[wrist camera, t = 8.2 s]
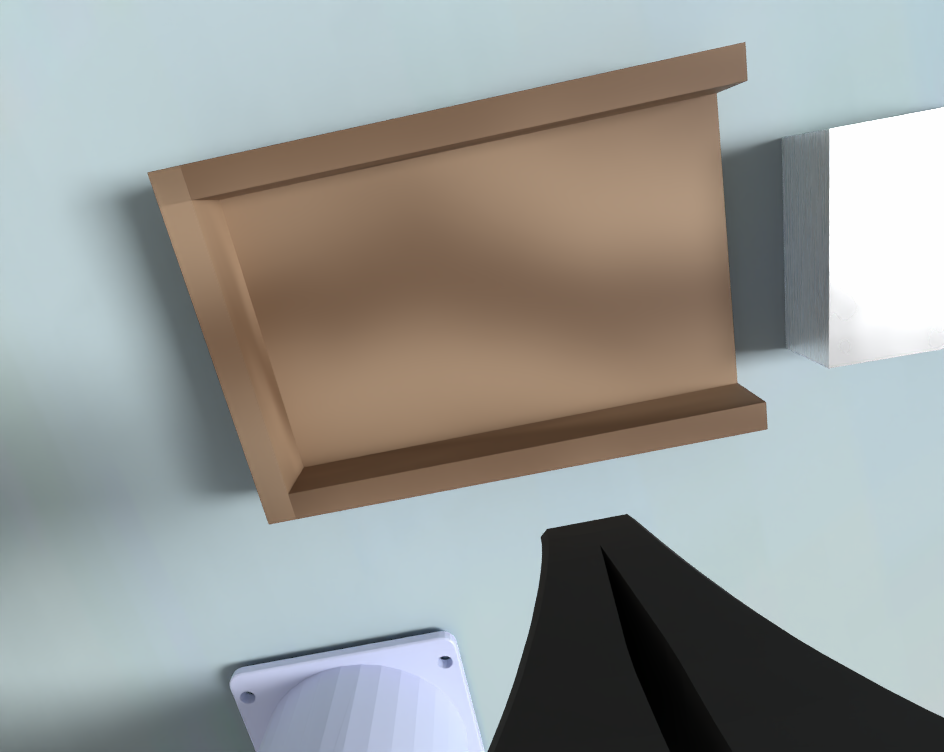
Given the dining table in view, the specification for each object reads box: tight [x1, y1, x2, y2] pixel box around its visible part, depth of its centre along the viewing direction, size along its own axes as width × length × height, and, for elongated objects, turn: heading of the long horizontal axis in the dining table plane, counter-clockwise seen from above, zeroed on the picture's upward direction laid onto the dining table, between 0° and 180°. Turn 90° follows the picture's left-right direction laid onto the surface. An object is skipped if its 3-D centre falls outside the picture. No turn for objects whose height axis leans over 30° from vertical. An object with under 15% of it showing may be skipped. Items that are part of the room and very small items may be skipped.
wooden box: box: [148, 42, 767, 524], centre depth 16 cm, size 10×14×2 cm
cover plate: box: [782, 108, 944, 368], centre depth 16 cm, size 6×5×2 cm
